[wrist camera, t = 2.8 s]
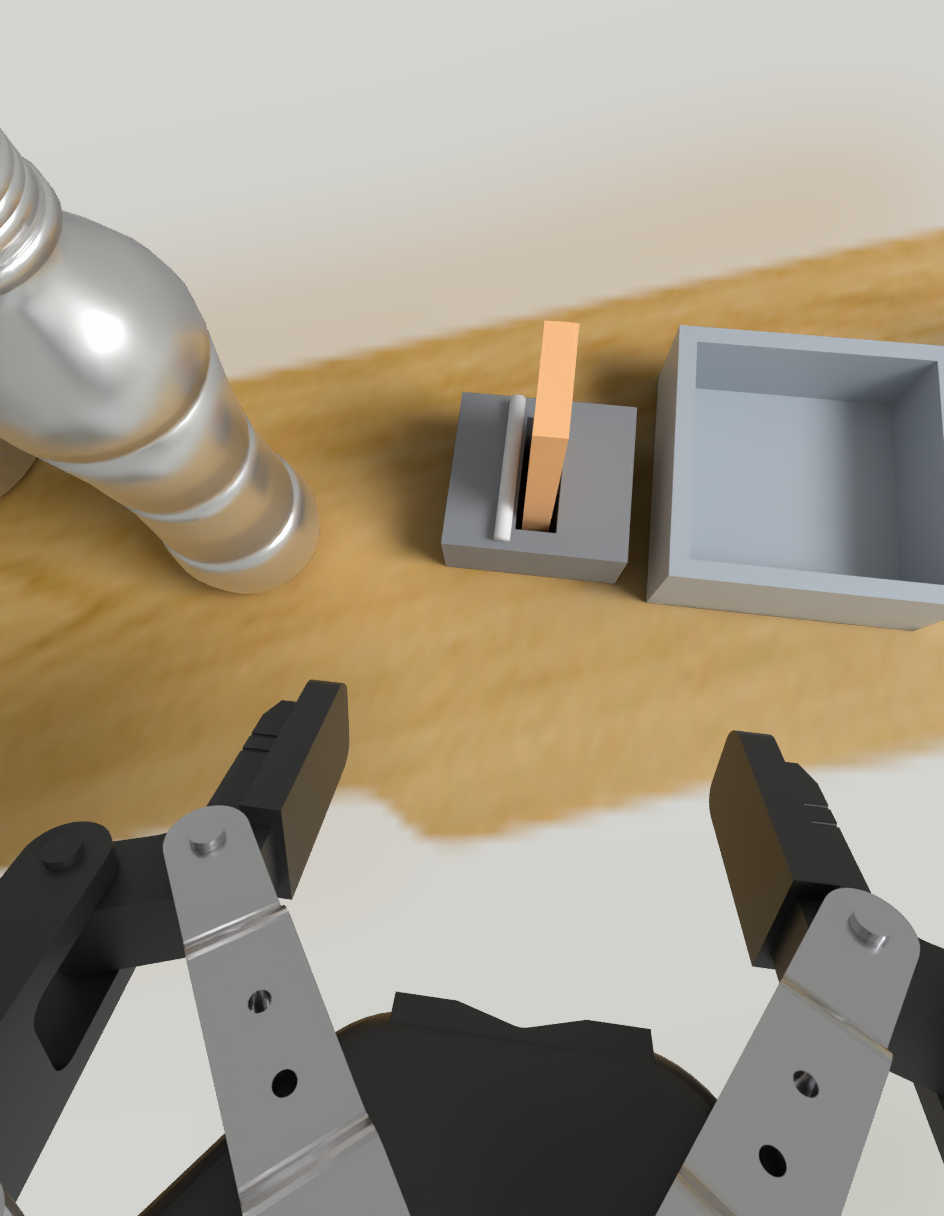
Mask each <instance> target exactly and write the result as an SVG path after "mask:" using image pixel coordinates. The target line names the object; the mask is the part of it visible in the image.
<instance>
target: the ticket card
mask: <svg viewBox="0 0 944 1216" xmlns="http://www.w3.org/2000/svg"><path fill="white" fill-rule="evenodd" d="M578 333H579V323H571V322H558V321H546V320H545V323H544V332H543V341H542V350H541V359H540V368H539V377H538V386H537V395H536V404H535V413H534V422H533V431H532V440H531V449H530V458H529V467H528V476H527V486H526V495H525V504H524V513H523V522H522V530H528V531H538V532H547V533H548V531H549V527H550V522H551V518H552V513H553V509H554V504H555V499H556V495H557V490H558V486H559V481H560V477H561V472H562V468H563V463H564V458H565V454H566V449H567V445H568V440H569V431H570V420H571V409H572V398H573V388H574V377H575V366H576V355H577V344H578Z"/></svg>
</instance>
